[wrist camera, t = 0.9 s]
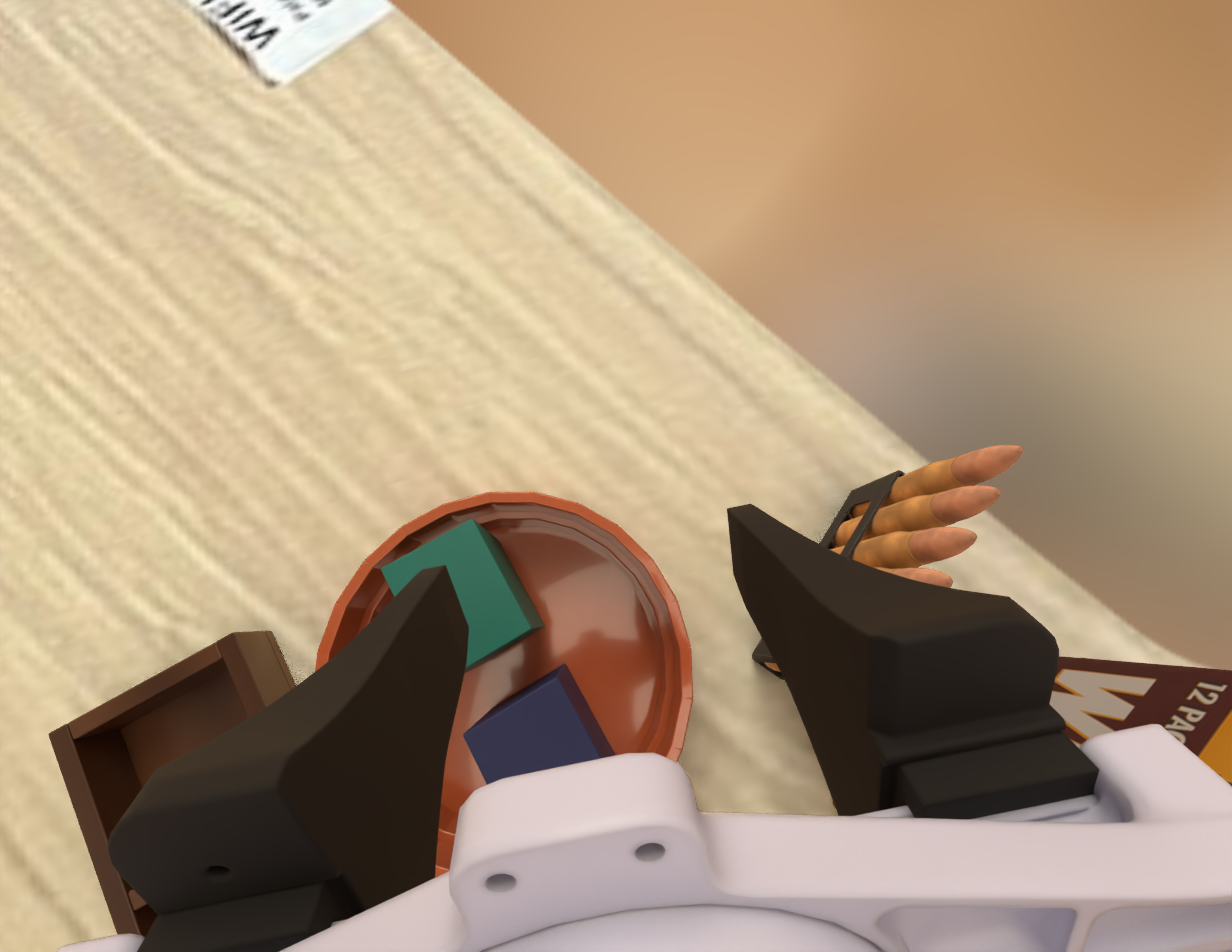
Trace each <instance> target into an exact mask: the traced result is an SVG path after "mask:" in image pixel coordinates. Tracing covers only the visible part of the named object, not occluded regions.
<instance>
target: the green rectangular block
mask: <svg viewBox="0 0 1232 952" xmlns="http://www.w3.org/2000/svg"><path fill="white" fill-rule="evenodd" d="M442 565H446V567H447V570H448V572H449V575H450V578H451V580H452V583H453V586H454V588H455V591H456V594H457V597H458V599H459V602H460V605H461V607H462V610H463V613H464V615H465V618H466V621H467V623H468V626H469V637H468V652H467V663H466V668H465V673H466V672H468V671H470V670H473V669H475V668H476V667H478V666H480V665H481V664H483V663H485V662H486V661H488V660H490V659H491V658H493V657H495V656H496V655H498V654H500V653H501V652H503V651H505V650H506V649H508V648H510V647H511V646H513V645H515V644H516V643H518V642H520V641H521V640H523V639H525V638H527V637H528V636H530V635H532V634H533V633H535V632H537V631H538V630H540V629H542V628H543V627H545V624H544V622H543V620H542V619H541V617H540V615H539V613H538V611H537V609H536V608H535V606H534V604H533V602H532V600H531V598H530V597H529V595H528V593H527V591H526V589H525V587H524V586H523V584H522V582H521V580H520V578H519V576H518V574H517V573H516V571H515V569H514V567H513V565H512V563H511V562H510V560H509V558H508V556H507V554H506V552H505V551H504V549H503V547H502V545H501V543H500V541H499V540H498V539H497V538H496V537H494V536H493V535H492V534H491V533H490V532H488V531H487V530H486V529H485V528H483V527H482V526H481V525H480V524H478V523H477V522H476V521H475V520H473V519H470V520H468V521H466V522H464V523H462V524H461V525H459V526H457V527H455V528H453V529H451V530H450V531H448V532H446V533H444V534H442V535H441V536H439V537H437V538H435V539H433V540H432V541H430V542H428V543H426V544H424V545H422V546H421V547H419V548H417V549H415V550H413V551H412V552H410V553H408V554H406V555H404V556H403V557H401V558H399V559H397V560H395V561H393V562H392V563H390V564H388V565H386V566H384V567H383V568H381V571H382V573H383V575H384V577H385V579H386V581H387V583H388V585H389V587H390V589H391V591H392V593H393V595H394V597H395V596H396V595H397V594H398V593H399V592H400V591H401V590H402V589H403V588H404V587H405V586H406V585H407V583H408V582H409V581H410V580H411V579H412V578H413V577H414V576H415V575H416V574H417V573H419V572H420V571H421V570H422V569H427V568H432V567H437V566H442Z"/></svg>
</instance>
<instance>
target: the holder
mask: <svg viewBox="0 0 1232 952" xmlns="http://www.w3.org/2000/svg"><path fill="white" fill-rule="evenodd" d="M294 687H296V686H295V684H294V681H293V679H292V677H291V674H290V672H289V670H288V668H287V665H286V663H285V661H284V659H283V656H282V654H281V652H280V650H279V647H278V645H277V643H276V641H275V638H274V636H273V634H272V632H271V631H255V632H233V633H231V634H229V635H227V636H226V637H224V638H222V639H220V640H218V641H217V642H216V643H213V644H212V645H210V646H208V647H206V648H204V649H202V650H201V651H199V652H197V653H195V654H193V655H192V656H190V657H188V658H186V659H184V660H182V661H181V662H179V663H177V664H175V665H173V666H171V667H170V668H168V669H166V670H164V671H162V672H160V673H159V674H157V675H155V676H153V677H151V678H149V679H148V680H146V681H144V682H142V683H140V684H139V685H137V686H135V687H133V688H131V689H129V690H128V691H126V692H124V693H122V694H120V695H118V696H117V697H115V698H113V699H111V700H109V701H107V702H106V703H104V704H102V705H100V706H98V707H96V708H95V709H93V710H91V711H89V712H87V713H86V714H84V715H82V716H80V717H78V718H76V719H75V720H73V721H71V722H69V723H68V724H65V725H63V726H62V727H60V728H58V729H56V730H54V731H52V732H51V733H49V738H50V741H51V744H52V747H53V750H54V752H55V755H56V758H57V761H58V764H59V767H60V770H61V773H62V776H63V778H64V781H65V784H66V787H67V790H68V793H69V796H70V799H71V802H72V804H73V807H74V810H75V813H76V816H77V819H78V822H79V825H80V828H81V830H82V833H83V836H84V839H85V842H86V845H87V848H88V851H89V854H90V856H91V859H92V862H93V865H94V868H95V871H96V874H97V877H98V880H99V882H100V885H101V888H102V891H103V894H104V897H105V900H106V903H107V906H108V908H109V911H110V914H111V917H112V920H113V923H114V926H115V929H116V932H117V934H136V935H140V936H143V937H146V935H147V933H148V931H149V930H150V928H151V926H152V924H153V923H154V921H155V919H156V917H157V916H158V914H156V912H155V911H154V910H153V909H152V908H151V907H150V906H149V905H148V904H147V903H146V902H145V901H144V900H143V899H142V898H141V897H140V896H139V895H138V894H137V893H136V892H135V890H134V889H133V888H132V887H131V886H130V885H129V884H128V883H127V882H126V881H125V880H124V879H123V878H122V877H121V876H120V874H119V873H118V872H117V870H116V869H115V867H114V866H113V864H112V863H111V860H110V856H109V852H108V847H107V845H108V841H109V837H110V834H111V832H112V830H113V829H114V828H115V826H116V825H117V823H118V822H119V821H120V819H121V818H122V816H123V815H124V814H125V812H126V811H127V809H128V808H129V807H130V805H131V804H132V802H133V801H134V800H135V798H136V797H137V795H138V794H139V793H140V791H141V790H142V788H143V787H144V785H145V784H146V783H147V781H148V780H149V778H150V777H151V776H152V774H153V773H154V771H155V770H156V769H157V768H159V767H161V766H163V765H165V764H167V763H169V762H171V761H173V760H175V759H177V758H179V757H181V756H183V755H185V754H187V753H188V752H190V751H192V750H194V749H196V748H198V747H200V746H202V745H204V744H206V743H208V742H209V741H211V740H213V739H215V738H217V737H218V736H220V735H222V734H224V733H225V732H227V731H229V730H230V729H232V728H234V727H235V726H237V725H239V724H240V723H242V722H244V721H245V720H247V719H249V718H250V717H252V716H253V715H255V714H256V713H258V712H260V711H261V710H263V709H264V708H266V707H267V706H269V705H270V704H272V703H273V702H275V701H276V700H277V699H279V698H280V697H282V696H283V695H284V694H286V693H287V692H289V691H290V690H292V689H293V688H294Z"/></svg>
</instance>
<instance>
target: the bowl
mask: <svg viewBox="0 0 1232 952" xmlns="http://www.w3.org/2000/svg"><path fill="white" fill-rule="evenodd" d="M470 519H473V520H475V521H476V522H477V523H478V524H480V525H481V526H482V527H483V528H485V529H486V530H487V531H488V532H490V533H491V534H492V535H493V536H494V537H496V538H497V539H498V540H499V541H500V543H501V545H502V547H503V549H504V551H505V552H506V554H507V556H508V558H509V560H510V562H511V563H512V565H513V567H514V569H515V571H516V573H517V574H518V576H519V578H520V580H521V582H522V584H523V586H524V587H525V589H526V591H527V593H528V595H529V597H530V598H531V600H532V602H533V604H534V606H535V608H536V609H537V611H538V613H539V615H540V617H541V619H542V620H543V622H544V624H545V627H543V628H542V629H540V630H538V631H537V632H535V633H533V634H532V635H530V636H528V637H527V638H525V639H523V640H521V641H520V642H518V643H516V644H515V645H513V646H511V647H510V648H508V649H506V650H505V651H503V652H501V653H500V654H498V655H496V656H495V657H493V658H491V659H490V660H488V661H486V662H485V663H483V664H481V665H480V666H478V667H476V668H475V669H473V670H470V671H468V672H466V673H464V678H463V682H462V687H461V692H460V696H459V700H458V705H457V709H456V714H455V718H454V723H453V727H452V731H451V736H450V740H449V745H448V751H447V756H446V762H445V770H444V779H443V788H442V797H441V807H440V819H439V830H438V841H437V856H436V872H435V878H436V877H438V876H440V875H442V874H445V873H447V872H449V871H450V864H451V858H452V852H453V846H454V840H455V834H456V828H457V822H458V815H459V809H460V807H461V806H462V805H463V804H464V803H465V801H466V800H467V799H468V798H469V797H470V795H471V794H472V793H473V792H474V791H475V790H477V789H478V788H480V787H483V786H485V785H487V784H486V782H485V780H484V778H483V776H482V774H481V771H480V769H479V767H478V765H477V763H476V761H475V759H474V757H473V755H472V753H471V751H470V749H469V747H468V745H467V743H466V741H465V739H464V737H463V734H464V733H465V732H466V731H467V730H468V729H469V728H471V727H472V726H473V725H474V724H475V723H476V722H477V721H478V720H479V719H481V718H482V717H483V716H484V715H485V714H486V713H487V712H488V711H489V710H490V709H492V708H493V707H494V706H496V705H497V704H499V703H500V702H502V701H504V700H505V699H507V698H509V697H510V696H512V695H514V694H515V693H517V692H518V691H520V690H522V689H523V688H525V687H527V686H528V685H530V684H531V683H533V682H535V681H536V680H538V679H540V678H541V677H543V676H545V675H546V674H548V673H549V672H551V671H553V670H554V669H556V668H558V667H559V666H561V665H562V664H564V663H566V665H567V666H568V668H569V670H570V672H571V674H572V676H573V677H574V679H575V681H576V683H577V685H578V687H579V689H580V690H581V692H582V694H583V696H584V698H585V700H586V701H587V703H588V705H589V707H590V709H591V711H592V712H593V714H594V716H595V718H596V720H597V722H598V723H599V725H600V727H601V729H602V731H603V733H604V734H605V736H606V738H607V740H608V742H609V744H610V745H611V747H612V749H613V751H614V753H615V755H620V754H625V753H656V754H659V755H661V756H663V757H666V758H668V759H670V760H673V761H675V762H677V760H678V758H679V756H680V754H681V752H682V749H683V745H684V740H685V735H686V730H687V725H688V721H689V716H690V711H691V706H692V702H693V699H692V698H693V682H692V656H691V648H690V647H691V645H690V642H689V638H688V635H687V631H686V628H685V625H684V621H683V618H682V615H681V611H680V608H679V604H678V601H677V599H676V597H675V595H674V594H673V592H672V590H671V589H670V587H669V585H668V584H667V582H666V580H665V579H664V577H663V575H662V574H661V572H660V570H659V569H658V567H657V565H656V564H655V562H654V560H653V559H652V558H651V557H650V556H649V555H648V554H647V553H646V552H645V551H644V550H643V549H642V548H641V547H640V546H639V545H638V544H637V543H636V542H635V541H634V540H633V539H632V538H631V537H630V536H629V535H628V534H627V533H626V532H625V531H624V530H623V529H622V528H621V527H619V526H618V525H617V524H615V523H613V522H611V521H609V520H608V519H606V518H604V517H602V516H601V515H599V514H597V513H595V512H594V511H592V510H590V509H588V508H587V507H585V506H583V505H581V504H579V503H576V502H572V501H568V500H564V499H560V498H557V497H553V496H549V495H545V494H541V493H537V492H536V493H535V492H490V493H489V492H487V493H483V494H480V495H476V496H472V497H468V498H464V499H460V500H456V501H452V502H449V503H445V504H442V505H440V506H439V507H437V508H435V509H433V510H431V511H429V512H428V513H426V514H424V515H422V516H420V517H418V518H417V519H415V520H413V521H411V522H409V523H407V524H405V525H404V526H402V527H401V528H399V529H398V530H397V531H396V532H395V533H394V534H393V535H392V536H391V537H389V538H388V539H387V540H386V541H385V542H384V543H383V544H382V545H381V546H380V547H378V548H377V549H376V550H375V551H374V552H373V553H372V554H371V555H370V556H369V557H367V558H366V559H365V561H364V562H363V563H362V565H361V566H360V568H359V569H358V571H357V572H356V574H355V575H354V576H353V578H352V579H351V581H350V582H349V584H348V585H347V587H346V588H345V590H344V591H343V593H342V594H341V596H340V597H339V599H338V600H337V602H336V603H335V606H334V609H333V611H332V614H331V617H330V619H329V622H328V625H327V627H326V630H325V633H324V635H323V638H322V641H321V643H320V646H319V649H318V653H317V661H316V670H315V672H316V671H317V670H318V669H319V668H321V667H322V666H323V665H324V664H326V663H327V662H328V661H329V660H330V659H331V658H333V657H334V656H335V655H336V654H337V653H338V652H340V651H341V650H342V649H343V648H344V647H345V646H346V645H347V644H348V643H349V642H350V641H351V640H352V639H353V638H355V637H356V636H357V635H358V634H359V633H360V632H361V631H362V630H363V629H364V628H365V627H366V626H367V625H368V624H369V623H370V622H371V621H372V620H373V619H374V618H375V617H376V616H377V615H378V614H379V613H380V612H381V611H382V610H383V609H384V608H385V607H386V606H387V605H388V604H389V602H390V601H391V600H392V599H393V598H394V595H393V593H392V591H391V589H390V587H389V585H388V583H387V581H386V579H385V577H384V575H383V573H382V571H381V568H383V567H384V566H386V565H388V564H390V563H392V562H393V561H395V560H397V559H399V558H401V557H403V556H404V555H406V554H408V553H410V552H412V551H413V550H415V549H417V548H419V547H421V546H422V545H424V544H426V543H428V542H430V541H432V540H433V539H435V538H437V537H439V536H441V535H442V534H444V533H446V532H448V531H450V530H451V529H453V528H455V527H457V526H459V525H461V524H462V523H464V522H466V521H468V520H470Z"/></svg>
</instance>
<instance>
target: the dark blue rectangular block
mask: <svg viewBox="0 0 1232 952" xmlns="http://www.w3.org/2000/svg"><path fill="white" fill-rule="evenodd" d="M463 737H464V739H465V741H466V743H467V745H468V747H469V749H470V751H471V753H472V755H473V757H474V759H475V761H476V763H477V765H478V767H479V769H480V771H481V774H482V776H483V778H484V780H485V782H486V784H487V785H488V784H490V783H493V782H495V781H498V780H500V779H502V778H507V777H512V776H517V775H522V774H527V773H531V772H536V771H541V770H546V769H551V768H556V767H561V766H566V765H571V764H576V763H581V762H586V761H591V760H596V759H601V758H606V757H610V756H615V753H614V751H613V749H612V747H611V745H610V744H609V742H608V740H607V738H606V736H605V734H604V733H603V731H602V729H601V727H600V725H599V723H598V722H597V720H596V718H595V716H594V714H593V712H592V711H591V709H590V707H589V705H588V703H587V701H586V700H585V698H584V696H583V694H582V692H581V690H580V689H579V687H578V685H577V683H576V681H575V679H574V677H573V676H572V674H571V672H570V670H569V668H568V666H567V665H566V663H564V664H562V665H561V666H559V667H558V668H556V669H554V670H553V671H551V672H549V673H548V674H546V675H545V676H543V677H541V678H540V679H538V680H536V681H535V682H533V683H531V684H530V685H528V686H527V687H525V688H523V689H522V690H520V691H518V692H517V693H515V694H514V695H512V696H510V697H509V698H507V699H505V700H504V701H502V702H500V703H499V704H497V705H496V706H494V707H493V708H492V709H490V710H489V711H488V712H487V713H486V714H485V715H484V716H483V717H482V718H481V719H479V720H478V721H477V722H476V723H475V724H474V725H473V726H472V727H471V728H469V729H468V730H467V731H466V732H465V733H464V734H463Z"/></svg>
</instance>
